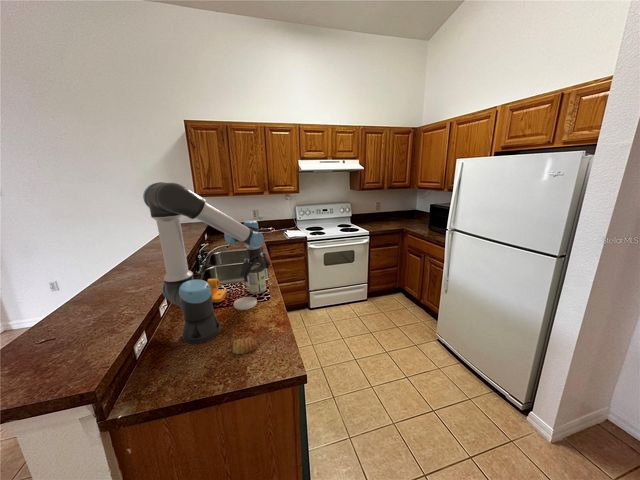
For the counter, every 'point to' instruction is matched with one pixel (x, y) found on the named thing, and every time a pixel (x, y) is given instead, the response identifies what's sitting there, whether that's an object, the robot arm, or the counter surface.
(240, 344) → the pastry
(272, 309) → the counter surface
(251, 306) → the plate
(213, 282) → the bracket
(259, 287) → the coffee can
